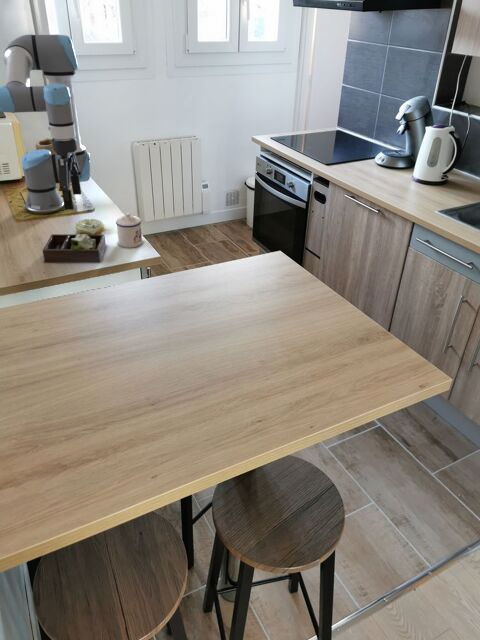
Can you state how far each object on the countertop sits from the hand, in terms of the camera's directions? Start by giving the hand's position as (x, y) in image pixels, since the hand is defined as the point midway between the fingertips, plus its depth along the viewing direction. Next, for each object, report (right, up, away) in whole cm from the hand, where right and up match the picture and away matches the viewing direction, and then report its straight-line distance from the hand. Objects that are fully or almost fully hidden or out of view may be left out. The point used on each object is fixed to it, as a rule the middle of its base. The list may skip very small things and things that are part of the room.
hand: (73, 201), depth 176 cm
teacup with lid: (+16, -11, +19) cm, 27 cm away
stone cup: (-37, +36, +86) cm, 100 cm away
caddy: (-2, -17, +9) cm, 19 cm away
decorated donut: (-1, -6, +25) cm, 26 cm away
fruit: (+1, -17, +8) cm, 19 cm away
